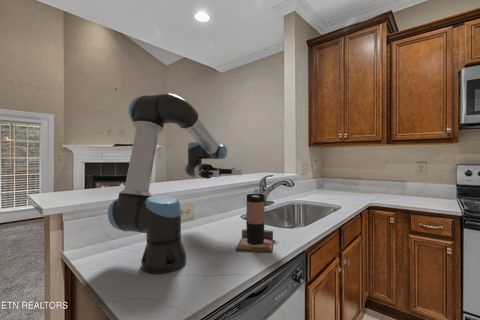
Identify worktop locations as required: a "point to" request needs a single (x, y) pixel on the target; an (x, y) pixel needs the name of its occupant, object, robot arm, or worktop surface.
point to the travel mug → (255, 219)
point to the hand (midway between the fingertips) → (230, 173)
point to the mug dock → (263, 248)
